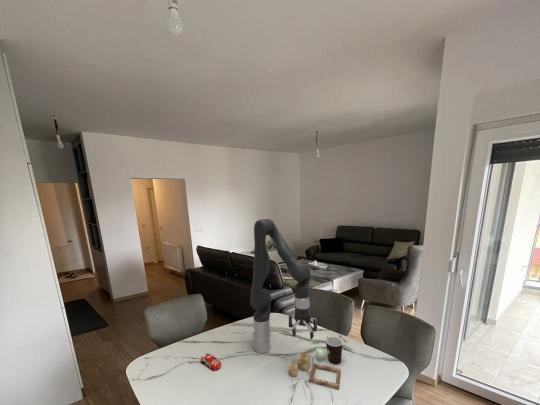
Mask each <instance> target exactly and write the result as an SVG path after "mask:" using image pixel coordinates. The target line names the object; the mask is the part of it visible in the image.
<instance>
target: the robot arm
mask: <svg viewBox="0 0 540 405" xmlns="http://www.w3.org/2000/svg"><path fill="white" fill-rule="evenodd" d="M253 225H254V226H253V240H254V249H253V250H254V251H253V253H254V255H253V266H252V267H253V269H252V270H253V273H252V282H251V283H252V284H251V289H250V296H249V297H250V298H249V299H250V305H251V307H252V308H253V310H256V311H254V313H253V332H252V350H253V351H255V352H256V353H258V354H265V353H268V352H269V351H271V324H270V316H271V312H272V307H271V306H272V300H271V299H272V298H271V293H270V292H269V291H268V290H267V289H265V288H263V287H264V286H263V285H264V284H265V281H266V279H267V277H268V275H269V272H270V265H271V264H270V263H271V258H270V254H269V252H268V250H267V247H266V238H267V236H269V237H270V238H271V239H272V241H273V242H274V245H275V249H276V252H277V255H278V257H280V259H281V260H282V262H283V263H284V264H285V266H286V267H287V270H288V272H289V275H290V276H291V278H292V279H293V280H294V281H296V282H297V283H296V284H295V286H294V314H292V313H290V314H289V316H288V328H291V332H292V336H293V337H296V335H297V326H299V327H301V326H302V327H306V328H307V329H308V331H310V332H309V339H310V340H312V339H314V332H315V333H316V332H317V331H318V324H317V323H318V322H317V317H311V313H310V311H311V310H310V306H311V304H310V297H309V295H310V294H309V287H310V286H309V285H310V281H311V270H310V267H309V266H308V265H306V264H304V263H303V264H302V263H301V264H298V262H297V261H298V257H297V255H296V253H294V251H293V250H292V249H291V247H289V245H288V244H287V243H286V241H285V238H283V235H281V233H280V231H279V228H278V227H277V225H276V224H275V223H274V221H273V220H272V219H271V218H262V219H258V220H256V221H255V223H254V224H253ZM262 288H263V289H262ZM293 320H294V321H295V322H294V323H293ZM312 324H313V325H312Z"/></svg>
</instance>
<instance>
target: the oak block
mask: <svg viewBox="0 0 540 405" xmlns="http://www.w3.org/2000/svg"><path fill="white" fill-rule="evenodd" d="M310 366H311V365H310V354H309V353H306V352H299V353H298V356H297V371H301V372H305V373H309V369H310Z"/></svg>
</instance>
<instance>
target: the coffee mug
mask: <svg viewBox="0 0 540 405" xmlns="http://www.w3.org/2000/svg"><path fill="white" fill-rule="evenodd" d="M343 342H344V341H343V340H342V339H341V338H339V337H338V336H326V338H325V344H326V345H325V347H326V351H327V352H326V353H327V359H328V362H329V363H330V364H333V365H336V366H337V365H340V364H341V363H342V355H343V354H342V353H343Z"/></svg>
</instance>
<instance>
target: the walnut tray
mask: <svg viewBox="0 0 540 405" xmlns="http://www.w3.org/2000/svg"><path fill="white" fill-rule="evenodd" d="M311 365H312V366H311V370H310V374H309V377H308V383H309V384H313V385H316V386H317V385H318V386H322V387H326V388H331V389H334V390H338V391H339V390H340V382H341V372H342V371H341V368H337V367H334V366H333V367H332V366H329V365H323V364H320V363H315V362H312V364H311ZM316 370H320V371H325V372H330V373H334V374H336V379H335V382H333V381H327V380H324V379H319V378H316V377H314V376H315V373H316Z"/></svg>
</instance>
